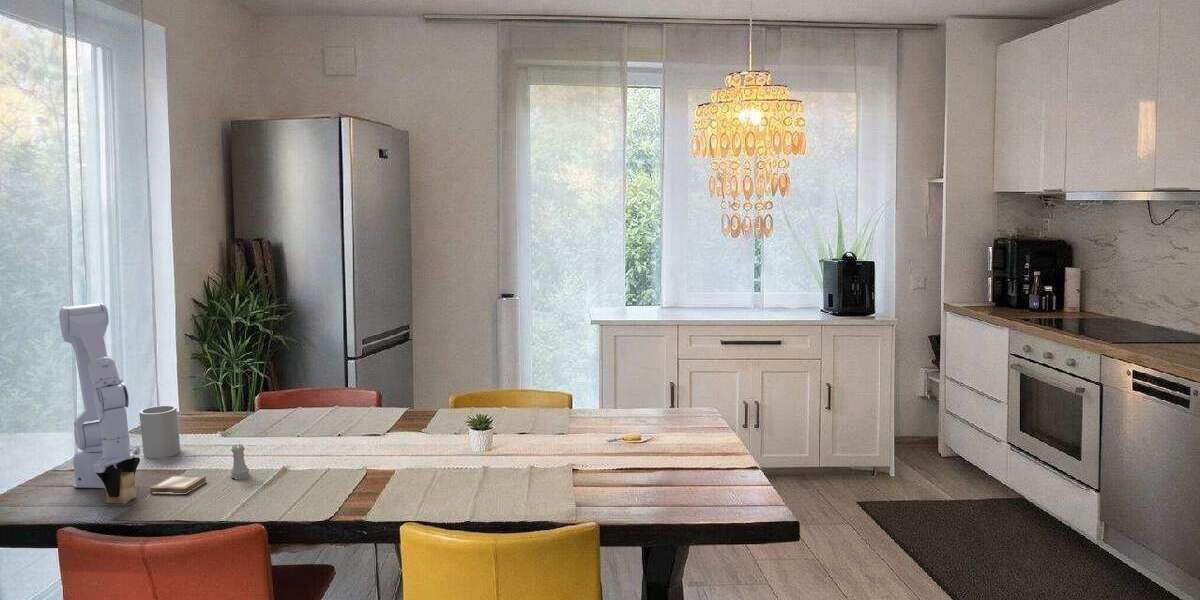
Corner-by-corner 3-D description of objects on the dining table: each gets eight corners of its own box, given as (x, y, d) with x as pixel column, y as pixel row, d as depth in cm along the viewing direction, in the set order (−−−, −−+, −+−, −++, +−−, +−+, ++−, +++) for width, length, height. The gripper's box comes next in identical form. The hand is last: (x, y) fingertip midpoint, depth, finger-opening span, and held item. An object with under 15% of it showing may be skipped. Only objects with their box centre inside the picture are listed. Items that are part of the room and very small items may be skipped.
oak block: (106, 502, 234) (104, 477, 233) (118, 496, 238) (116, 471, 237) (124, 503, 233) (122, 478, 232) (136, 496, 238) (133, 472, 237)
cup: (146, 450, 276) (141, 407, 274) (181, 446, 278) (177, 404, 277) (141, 459, 267) (137, 415, 265) (178, 455, 270) (174, 411, 268)
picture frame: (150, 493, 239) (150, 487, 239) (172, 481, 248) (171, 475, 248) (186, 494, 238) (185, 488, 238) (206, 482, 247) (205, 476, 247)
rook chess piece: (243, 480, 248) (240, 448, 247) (227, 479, 249) (224, 447, 247) (253, 474, 252) (250, 443, 251) (237, 473, 253) (234, 442, 252)
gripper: (111, 445, 226) (117, 504, 228) (149, 428, 240) (154, 483, 242) (82, 445, 227) (89, 503, 229) (122, 427, 241) (127, 482, 243)
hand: (120, 493), depth 236 cm, fingers closed on oak block, 4 cm apart
